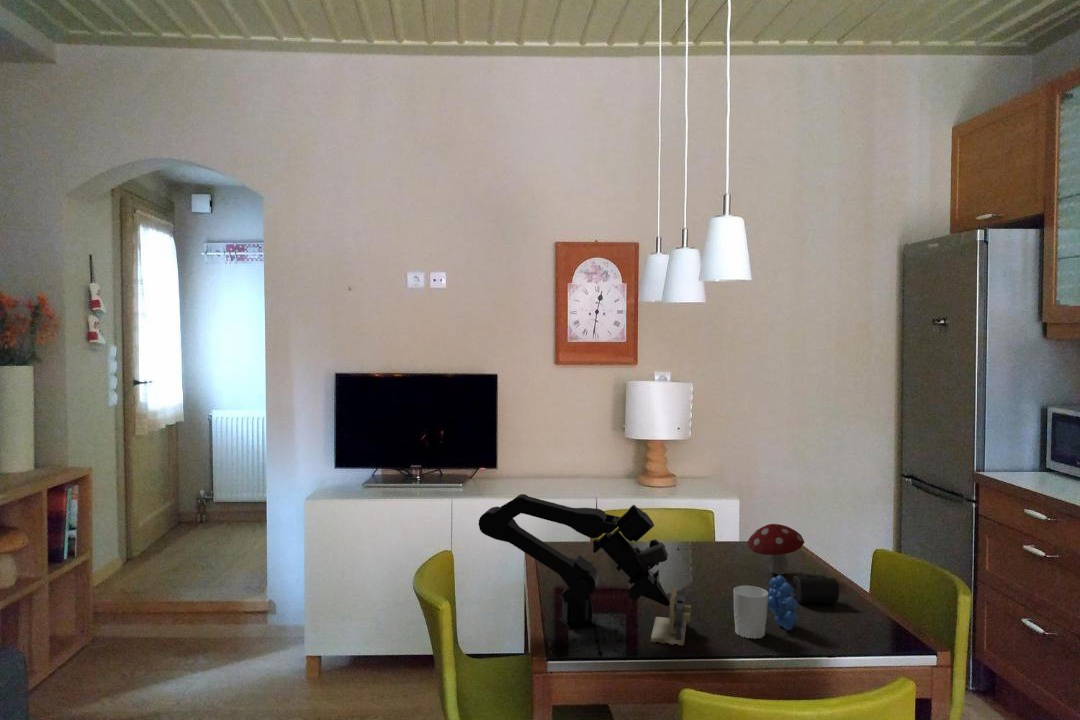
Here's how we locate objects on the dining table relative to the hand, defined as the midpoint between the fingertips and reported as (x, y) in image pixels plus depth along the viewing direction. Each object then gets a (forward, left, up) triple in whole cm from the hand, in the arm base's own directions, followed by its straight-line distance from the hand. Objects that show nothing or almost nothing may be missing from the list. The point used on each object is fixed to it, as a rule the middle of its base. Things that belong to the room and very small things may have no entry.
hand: (669, 604), depth 172 cm
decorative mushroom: (+52, +26, -7) cm, 59 cm away
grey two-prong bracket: (+2, -1, -7) cm, 7 cm away
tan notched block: (+2, -1, -5) cm, 6 cm away
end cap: (+47, +4, -7) cm, 48 cm away
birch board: (0, 0, -7) cm, 7 cm away
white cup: (+18, -7, -7) cm, 20 cm away
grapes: (+27, -6, -7) cm, 28 cm away
